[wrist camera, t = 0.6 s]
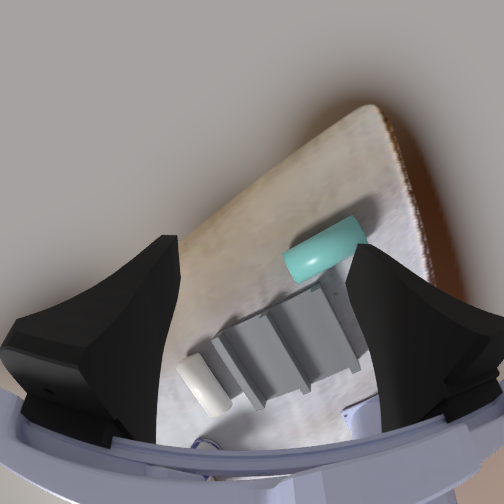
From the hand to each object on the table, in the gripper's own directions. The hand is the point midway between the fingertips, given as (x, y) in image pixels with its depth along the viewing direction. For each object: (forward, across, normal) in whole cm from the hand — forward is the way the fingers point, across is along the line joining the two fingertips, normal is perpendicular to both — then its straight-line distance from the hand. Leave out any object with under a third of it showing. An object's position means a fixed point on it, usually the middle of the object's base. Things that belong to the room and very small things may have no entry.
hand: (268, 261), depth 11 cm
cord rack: (+13, -6, +23) cm, 27 cm away
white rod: (+13, +4, +30) cm, 33 cm away
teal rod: (+18, -10, +10) cm, 23 cm away
